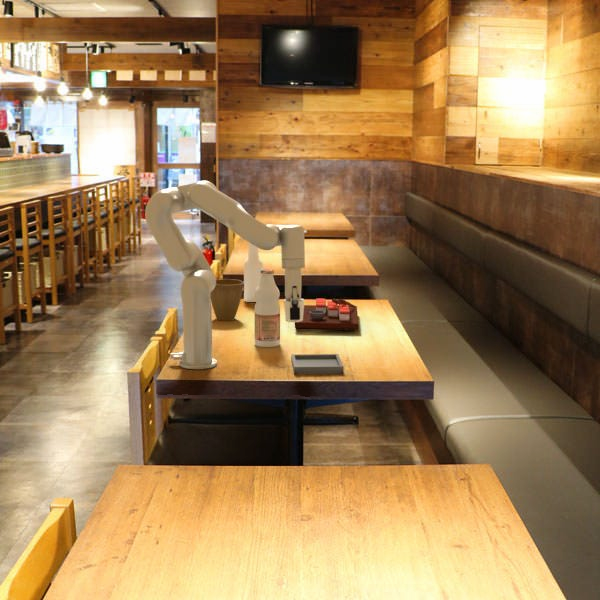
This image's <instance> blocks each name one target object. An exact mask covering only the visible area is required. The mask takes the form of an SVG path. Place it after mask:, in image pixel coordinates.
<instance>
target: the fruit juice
mask: <svg viewBox="0 0 600 600" xmlns="http://www.w3.org/2000/svg"><path fill="white" fill-rule="evenodd" d="M274 274H275V270H274V269H272V268H263V269H262V270H261V280H260V283H259V285H258V287H257V289H256V290H255V298H256V303H254V304H255V305H254V311H253V312H254V345H255V346H257V347H260V348H274V347H275V348H276V347H279V346H280V345H281V344H280V343H281V306H280V305H281V304H280V302H279V301H280V300H279V299H280V296H281V295H280V290H279V288H278V286H277V284H276V281H275V278H274Z"/></svg>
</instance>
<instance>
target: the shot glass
mask: <svg viewBox="0 0 600 600" xmlns="http://www.w3.org/2000/svg"><path fill="white" fill-rule="evenodd" d="M304 305H305V299H304V298H302V297H301V298H300V299H299V307H300V320H290V308H291V304H290V298H288V299H286V298H284V299H283V308H284V316H285V321H286V322H288V323H295V322H300V321H303V313H304Z"/></svg>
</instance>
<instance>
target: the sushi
mask: <svg viewBox="0 0 600 600" xmlns="http://www.w3.org/2000/svg"><path fill="white" fill-rule="evenodd" d="M326 303H327V304H326ZM294 328H295V330H307V331H308V330H309V331H310V330H312V331H313V330H314V331H316V330H317V331H319V330H320V331H359V317H358V307H357V305H354V304H352V303H350V302H349V301H346V300H345V299H343V298H338V299H337V298H332V299H331V300H327V301H326V298H316V299H315V305H311V304H310V305H309V304H304V313H303V321H300V322H294Z"/></svg>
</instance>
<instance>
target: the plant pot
mask: <svg viewBox="0 0 600 600" xmlns="http://www.w3.org/2000/svg"><path fill="white" fill-rule="evenodd" d="M243 291H244V280H243V281H242V280H240V279H233V278H231V279H230V278H221V279H220V278H218V279H216V286H215V288H214V290H213V291H212V292H211V293H210V299H211V307H212V309H213V312H214V315H215V318H216V320H217V321H223V322H224V321H225V322H226V321H229V322H230V321H233V320H234V319H235V318H236V316H237V313H238V309H239V306H240V303H241V299H242V294H243Z"/></svg>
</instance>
